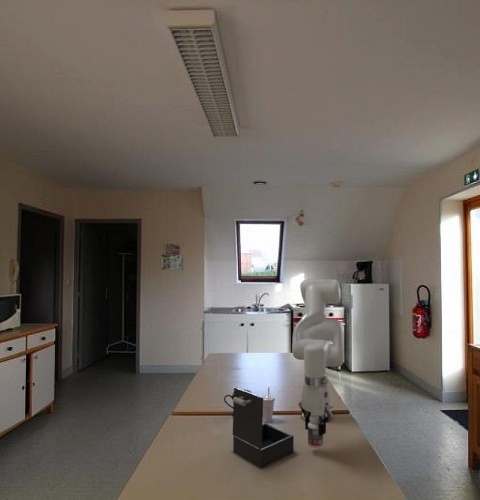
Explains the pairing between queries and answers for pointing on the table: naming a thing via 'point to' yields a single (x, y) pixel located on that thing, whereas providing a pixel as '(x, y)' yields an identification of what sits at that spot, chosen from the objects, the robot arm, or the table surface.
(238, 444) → the dark grey storage bin
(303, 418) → the robot arm
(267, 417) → the smoothie
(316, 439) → the pill bottle
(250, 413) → the lid
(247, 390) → the coffee mug
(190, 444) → the table surface
